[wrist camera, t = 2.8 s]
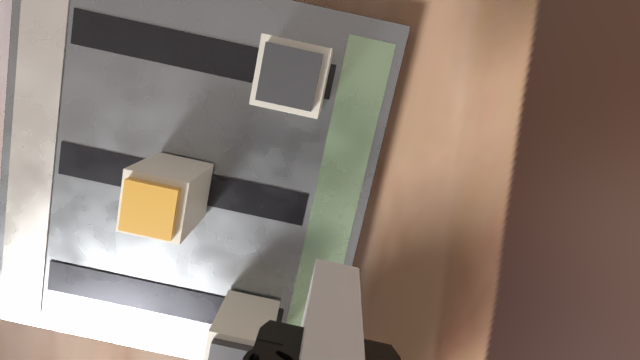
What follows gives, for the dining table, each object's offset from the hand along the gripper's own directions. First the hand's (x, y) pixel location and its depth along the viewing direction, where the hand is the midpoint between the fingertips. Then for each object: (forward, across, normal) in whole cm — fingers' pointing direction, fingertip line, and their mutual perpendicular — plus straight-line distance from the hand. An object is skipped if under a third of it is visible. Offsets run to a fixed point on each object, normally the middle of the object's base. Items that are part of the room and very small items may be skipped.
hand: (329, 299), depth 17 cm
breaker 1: (+10, -3, -7) cm, 13 cm away
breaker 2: (+10, -3, +7) cm, 13 cm away
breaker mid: (+10, -8, 0) cm, 13 cm away
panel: (+12, -8, 0) cm, 14 cm away
